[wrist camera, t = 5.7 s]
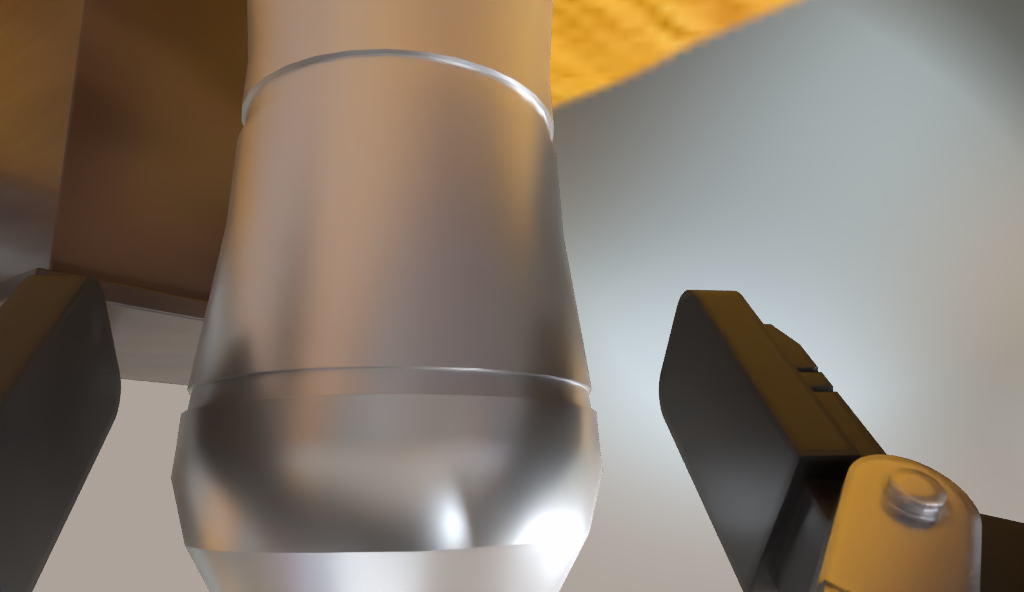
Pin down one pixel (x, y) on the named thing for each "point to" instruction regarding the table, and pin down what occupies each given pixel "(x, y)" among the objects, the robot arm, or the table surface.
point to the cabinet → (122, 159)
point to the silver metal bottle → (391, 314)
